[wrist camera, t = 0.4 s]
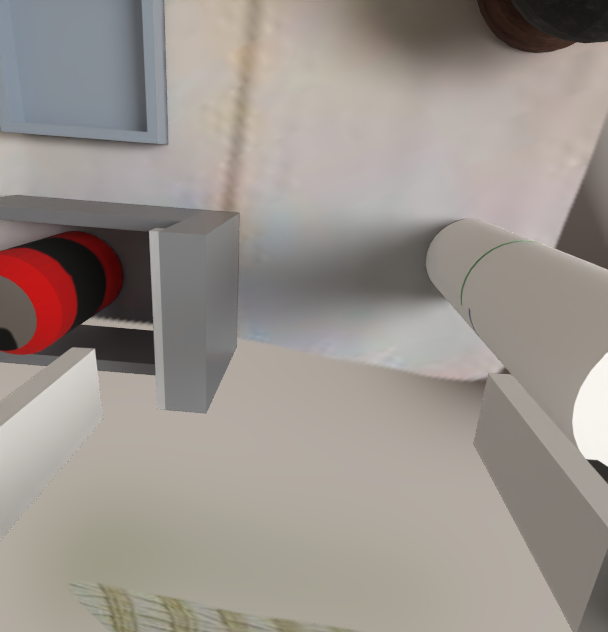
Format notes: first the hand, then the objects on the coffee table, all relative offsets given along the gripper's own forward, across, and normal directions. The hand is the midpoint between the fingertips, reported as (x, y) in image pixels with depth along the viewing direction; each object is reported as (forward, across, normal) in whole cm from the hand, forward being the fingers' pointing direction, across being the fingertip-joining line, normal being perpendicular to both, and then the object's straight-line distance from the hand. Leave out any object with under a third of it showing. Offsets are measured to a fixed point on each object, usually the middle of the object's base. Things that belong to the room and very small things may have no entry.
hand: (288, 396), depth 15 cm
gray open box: (+27, -17, -4) cm, 31 cm away
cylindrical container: (+27, +14, 0) cm, 30 cm away
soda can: (+27, -21, -3) cm, 34 cm away
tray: (+26, -19, +15) cm, 36 cm away
